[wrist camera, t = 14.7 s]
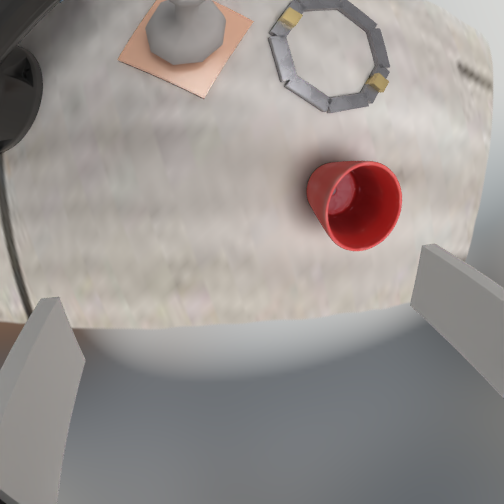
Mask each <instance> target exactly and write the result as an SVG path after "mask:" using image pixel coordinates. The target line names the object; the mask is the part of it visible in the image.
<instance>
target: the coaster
mask: <svg viewBox="0 0 504 504" xmlns="http://www.w3.org/2000/svg"><path fill="white" fill-rule="evenodd" d="M163 1H166V0H156V2H155V3H154V4H153V6H152V7H151V8H150V10H149V11H148V13H147V14H146V16H145V17H144V18H143V20H142V21H141V23H140V24H139V26H138V27H137V29H136V30H135V32H134V33H133V35H132V37H131V38H130V40H129V41H128V43H127V44H126V46H125V48H124V49H123V51H122V53H121V54H120V56H119V58H118V61H120V62H123V63H125V64H128V65H130V66H133V67H135V68H138V69H140V70H142V71H145V72H147V73H149V74H152V75H154V76H156V77H158V78H161V79H163V80H165V81H167V82H170V83H172V84H174V85H176V86H178V87H180V88H182V89H185V90H187V91H189V92H191V93H193V94H195V95H197V96H199V97H201V98H203V99H204V98H205V96H206V94H207V93H208V91H209V89H210V88H211V86H212V84H213V83H214V81H215V79H216V78H217V76H218V75H219V73H220V71H221V70H222V68H223V67H224V65H225V63H226V62H227V60H228V59H229V57H230V56H231V54H232V53H233V51H234V50H235V48H236V47H237V45H238V44H239V42H240V41H241V39H242V38H243V36H244V35H245V33H246V32H247V30H248V29H249V27H250V26H251V25H252V23H253V22H254V21H252V20H250V19H248V18H246V17H244V16H243V15H241V14H239V13H237V12H235V11H233V10H231V9H229V8H227V7H225V6H223V5H221V4H218V3H216V2H214V1H213V2H214V4H215V5H216V6H217V7H218V9H219V10H220V11H221V12H222V14H223V15H224V16H225V19H226V25H225V32H224V39H223V45H221V46H220V47H219V48H218V49H217V50H215V51H214V52H213V53H212V54H211V55H210V56H208V57H207V58H206V59H205V60H204V61H203V62H197V63H186V64H177V65H172V64H171V63H169V62H168V61H166V60H164V59H162V58H161V57H159V56H157V55H156V54H154V53H152V52H151V51H150V47H149V43H148V39H147V34H146V30H145V28H146V26H147V23H148V22H149V20H150V19H151V17H152V15H153V14H154V12H155V11H156V9H157V7H158V6H159V4H160V3H161V2H163Z"/></svg>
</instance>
